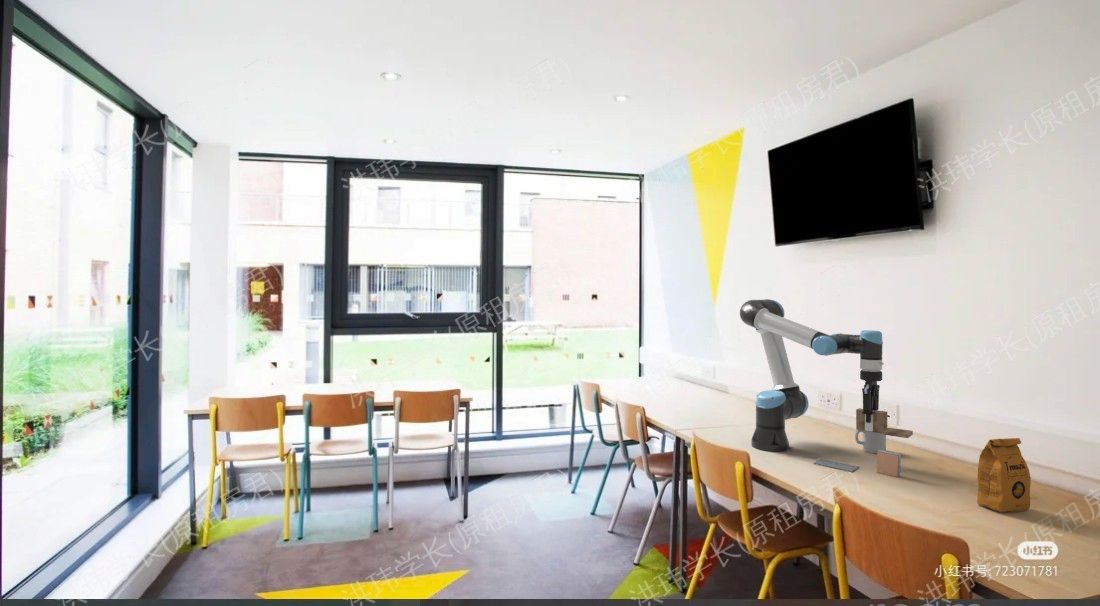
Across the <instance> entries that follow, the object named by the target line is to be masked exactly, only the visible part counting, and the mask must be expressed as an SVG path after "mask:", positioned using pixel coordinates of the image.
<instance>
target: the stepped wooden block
mask: <svg viewBox="0 0 1100 606" xmlns="http://www.w3.org/2000/svg"><path fill="white" fill-rule="evenodd" d="M862 412H863V408H861V407H858V408H857V409H855V415H856V416H855V418H856V419H855V427H856V429H855V430H861V431H865V414H863V413H862ZM872 414H873V432H875V433H882V434H883V435H886V436H890V437H896V438H902V439H909V438H910V437H912V436H913V434H914V432H913V430H909V429H902V428H896V427H888V411H885V410H872ZM868 432H872V431H868Z"/></svg>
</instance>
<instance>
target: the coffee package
mask: <svg viewBox="0 0 1100 606" xmlns="http://www.w3.org/2000/svg"><path fill="white" fill-rule="evenodd" d="M1021 444H1022V441H1021V438H1019V437H1016V438H1015V437H1012V438H1010V437H1009V438H994V439H993V438H991V439H989V440H988V441H987V442H986V444H985V445H984V448H983V449H982V451H981V453H980V454H979V458H978V464H977V465H978V466H977V475H976V476H977V478H976V479H977V480H976V481H977V485H976V487H977V491H976V493H977V497H976V498H977V501H976V502H977V505H978V506H981V507H982V506H983V507H985V508H989V509H991V510H993V511H997V512H1000V513H1003V512H1024V511H1025V510H1027V511H1029V509H1030V508H1031V481H1032V480H1031V473H1030V469H1029V467H1028V464H1027V462H1026V460H1025V458H1024V457H1023V454H1022V451H1021V449H1020V447H1019V446H1018V445H1021ZM1025 512H1026V511H1025Z"/></svg>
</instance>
